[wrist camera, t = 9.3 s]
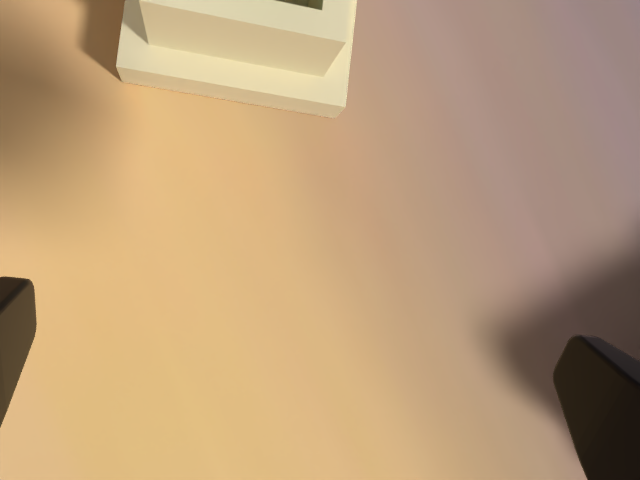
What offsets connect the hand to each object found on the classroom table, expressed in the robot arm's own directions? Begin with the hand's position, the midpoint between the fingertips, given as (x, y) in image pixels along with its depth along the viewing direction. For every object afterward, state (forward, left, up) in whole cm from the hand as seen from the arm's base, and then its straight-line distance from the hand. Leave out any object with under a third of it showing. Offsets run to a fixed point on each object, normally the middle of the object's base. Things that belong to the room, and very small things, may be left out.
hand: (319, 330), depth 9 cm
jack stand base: (+6, +9, -11) cm, 15 cm away
